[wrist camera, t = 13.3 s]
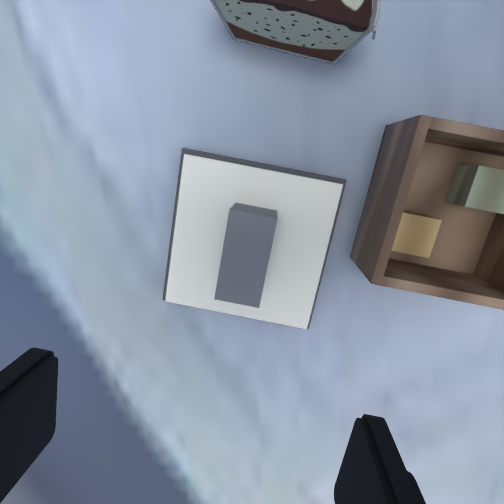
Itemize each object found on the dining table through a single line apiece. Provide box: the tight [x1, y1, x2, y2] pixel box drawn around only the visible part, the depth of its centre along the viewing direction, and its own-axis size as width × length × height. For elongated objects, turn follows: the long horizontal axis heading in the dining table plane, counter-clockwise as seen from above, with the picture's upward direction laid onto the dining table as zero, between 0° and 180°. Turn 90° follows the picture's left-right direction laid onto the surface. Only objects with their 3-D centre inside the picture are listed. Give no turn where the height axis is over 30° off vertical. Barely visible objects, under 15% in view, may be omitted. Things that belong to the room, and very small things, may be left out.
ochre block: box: [391, 210, 442, 258], centre depth 33 cm, size 4×4×4 cm
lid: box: [165, 154, 343, 329], centre depth 32 cm, size 15×15×6 cm
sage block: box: [446, 165, 504, 214], centre depth 31 cm, size 4×4×4 cm
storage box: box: [350, 115, 504, 310], centre depth 30 cm, size 13×13×8 cm
